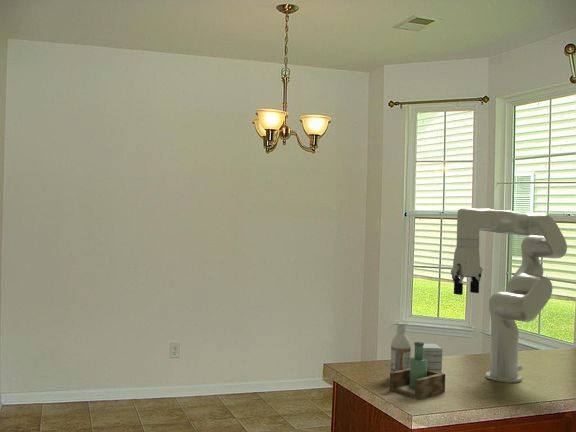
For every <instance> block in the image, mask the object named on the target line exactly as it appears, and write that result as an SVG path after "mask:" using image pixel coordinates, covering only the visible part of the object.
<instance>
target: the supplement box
mask: <svg viewBox="0 0 576 432" xmlns="http://www.w3.org/2000/svg"><path fill="white" fill-rule="evenodd" d="M423 358H425V359H427V370H431V371H435V372H439V373H442V372H443V370H442V369H443V368H442V367H443V348H442V347H441V346H439V345H438V344H436V343H424V345H423Z"/></svg>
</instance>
